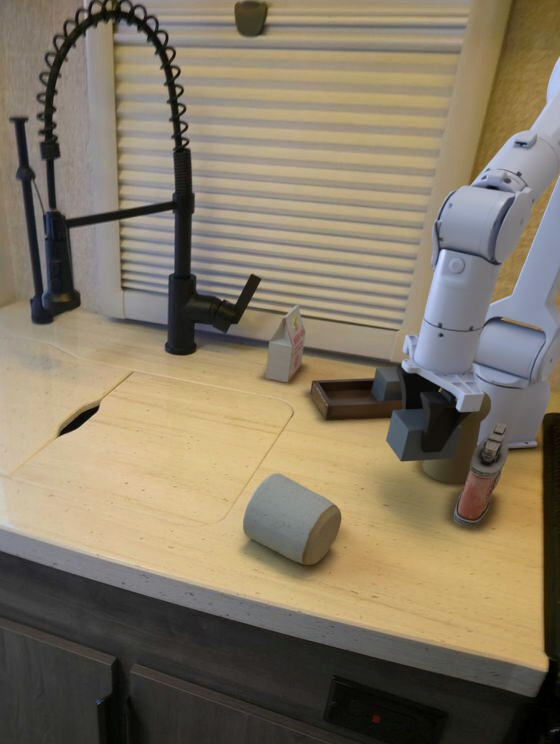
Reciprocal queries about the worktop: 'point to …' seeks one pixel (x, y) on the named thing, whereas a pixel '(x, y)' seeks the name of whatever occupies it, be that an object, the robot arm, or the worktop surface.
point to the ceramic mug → (291, 519)
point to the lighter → (482, 478)
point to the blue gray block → (415, 437)
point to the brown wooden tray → (359, 396)
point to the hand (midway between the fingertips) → (421, 438)
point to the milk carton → (286, 347)
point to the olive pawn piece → (460, 449)
